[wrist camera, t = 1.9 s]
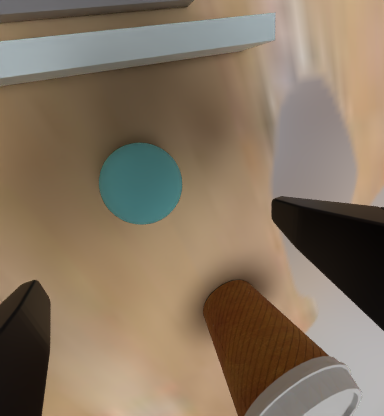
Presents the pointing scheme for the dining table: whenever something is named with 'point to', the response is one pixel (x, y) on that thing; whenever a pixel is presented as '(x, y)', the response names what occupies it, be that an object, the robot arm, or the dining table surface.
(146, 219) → the ball
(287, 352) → the disposable coffee cup
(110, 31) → the wall
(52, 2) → the dish
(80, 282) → the dining table surface
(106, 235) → the dining table surface
